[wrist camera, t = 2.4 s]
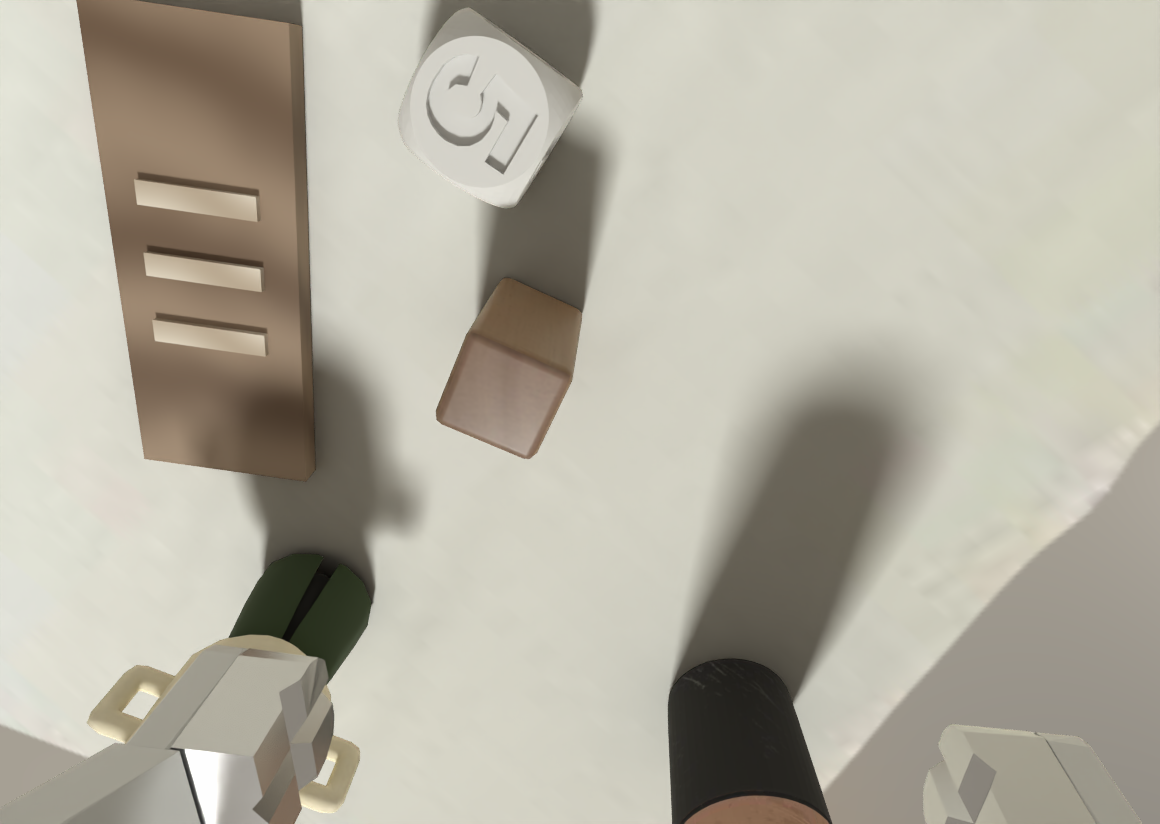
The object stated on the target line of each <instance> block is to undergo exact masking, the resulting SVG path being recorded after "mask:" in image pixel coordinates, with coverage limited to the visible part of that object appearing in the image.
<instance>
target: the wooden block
mask: <svg viewBox="0 0 1160 824" xmlns="http://www.w3.org/2000/svg"><path fill="white" fill-rule="evenodd" d="M581 322H582V313H581V312H580V311H579V310H578V309H577V308H575V307H573V306H570V305H568V304H566V303H564V302H562V301H560V300H557V299H555V298H553V297H551V296H549V295H546V294H544V293H542V292H540V291H538V290H535V289H533V288H531V287H529V286H527V285H524V284H522V283H520V282H518V281H516V280H513V279H511V278H503V279H502V280H501V281H500V282H499V284H498V285H497V287H496V288H495V290H494V291H493V293H492V295H491V296H490V298H489V299H488V301H487V303H486V304H485V306H484V307H483V309H482V310H481V312H480V314H479V315H478V317H477V318H476V320H475V322H474V323H473V325H472V326H471V328H470V330H469V331H468V333H467V334H466V337H465V339H464V342H463V344H462V347H461V349H460V352H459V354H458V357H457V359H456V362H455V364H454V367H453V369H452V372H451V374H450V377H449V379H448V382H447V384H446V387H445V389H444V391H443V394H442V396H441V399H440V401H439V404H438V406H437V409H436V418H437V421H439V422H440V423H441V424H443V425H445V426H447V427H450V428H452V429H455V430H457V431H459V432H462V433H464V434H467V435H469V436H471V437H474V438H476V439H478V440H481V441H483V442H486V443H488V444H490V445H493V446H495V447H498V448H500V449H502V450H505V451H507V452H509V453H512V454H514V455H517V456H519V457H521V458H526V459H530V458H531V457H532V456H534V455H535V454H536V453H537V452H538V450H539V447H540V445H541V443H542V441H543V439H544V437H545V435H546V433H547V431H548V429H549V427H550V425H551V423H552V421H553V419H554V417H555V415H556V413H557V411H558V409H559V406H560V404H561V402H562V400H563V398H564V396H565V394H566V392H567V390H568V388H569V386H570V384H571V382H572V378H573V372H574V366H575V360H576V353H577V347H578V341H579V335H580V328H581Z"/></svg>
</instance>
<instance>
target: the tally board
mask: <svg viewBox="0 0 1160 824" xmlns="http://www.w3.org/2000/svg"><path fill="white" fill-rule="evenodd" d="M76 1H77V7H78V14H79V21H80V28H81V34H82V41H83V48H84V54H85V61H86V68H87V75H88V81H89V88H90V95H91V102H92V108H93V115H94V122H95V129H96V135H97V142H98V149H99V156H100V162H101V169H102V176H103V182H104V189H105V196H106V203H107V209H108V216H109V223H110V230H111V236H112V243H113V250H114V257H115V263H116V270H117V277H118V284H119V290H120V297H121V304H122V311H123V317H124V324H125V331H126V337H127V344H128V351H129V358H130V364H131V371H132V378H133V385H134V391H135V398H136V405H137V412H138V418H139V425H140V432H141V439H142V445H143V452H144V459H149V460H156V461H163V462H170V463H178V464H185V465H192V466H199V467H206V468H213V469H220V470H227V471H234V472H241V473H248V474H255V475H263V476H270V477H277V478H284V479H291V480H298V481H305V482H306V481H307V480H308V478H309V477H310V476H311V475H312V473H313V472H314V471H315V470H316V468H315V435H314V402H313V370H312V337H311V304H310V271H309V238H308V205H307V172H306V139H305V106H304V73H303V40H302V26H300V25H296V24H291V23H285V22H278V21H272V20H265V19H258V18H251V17H245V16H238V15H231V14H224V13H218V12H211V11H204V10H198V9H191V8H184V7H177V6H171V5H164V4H157V3H150V2H144V1H137V0H76Z"/></svg>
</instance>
